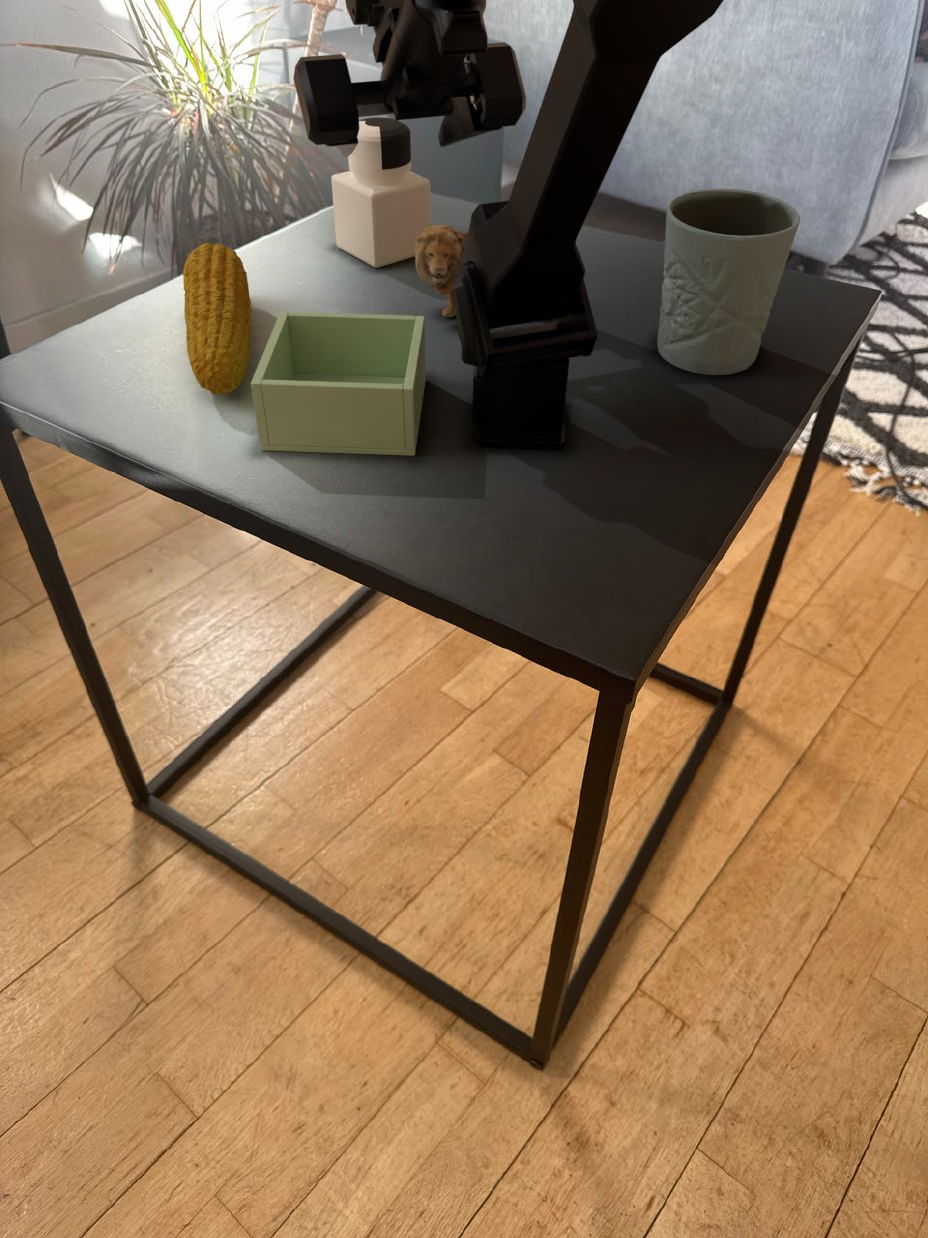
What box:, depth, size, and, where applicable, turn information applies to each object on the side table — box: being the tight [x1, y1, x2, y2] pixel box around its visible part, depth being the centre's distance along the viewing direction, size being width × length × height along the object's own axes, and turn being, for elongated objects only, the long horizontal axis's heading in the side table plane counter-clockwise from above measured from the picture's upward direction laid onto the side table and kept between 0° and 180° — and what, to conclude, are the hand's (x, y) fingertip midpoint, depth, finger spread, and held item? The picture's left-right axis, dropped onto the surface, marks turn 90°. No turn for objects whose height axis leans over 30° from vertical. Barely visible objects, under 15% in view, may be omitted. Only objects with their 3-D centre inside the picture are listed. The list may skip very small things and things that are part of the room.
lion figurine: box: [414, 224, 467, 319], centre depth 83 cm, size 15×5×9 cm, turn 116°
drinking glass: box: [657, 188, 801, 376], centre depth 78 cm, size 10×10×12 cm
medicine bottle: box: [330, 116, 432, 269], centre depth 93 cm, size 7×7×12 cm
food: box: [182, 241, 253, 396], centre depth 79 cm, size 21×6×6 cm, turn 13°
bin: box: [250, 310, 427, 457], centre depth 72 cm, size 11×11×6 cm
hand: (393, 146), depth 86 cm, fingers open, 9 cm apart
